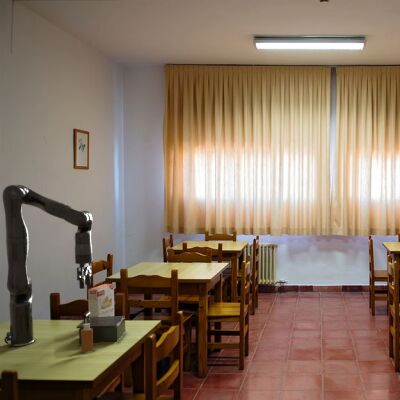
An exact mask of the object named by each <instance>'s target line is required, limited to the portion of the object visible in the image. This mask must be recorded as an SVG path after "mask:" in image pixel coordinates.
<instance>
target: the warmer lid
mask: <svg viewBox="0 0 400 400" xmlns="http://www.w3.org/2000/svg"><path fill="white" fill-rule="evenodd" d="M89 315H90V312H89V310H87V311H86V312H85V313H84V314H83V315H82V319H83V320H82V321H81V322H80V323H79V324H77V326H76V329H80V328H84V324H87V323H89V324H90V328H98V327H117V326H118V325H119V324H120V322H121V321H122V320H123V319H124V318H125V315H116V316H115V315H114V316H110V317H89ZM125 319H126V318H125Z"/></svg>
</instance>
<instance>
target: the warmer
mask: <svg viewBox="0 0 400 400" xmlns="http://www.w3.org/2000/svg"><path fill="white" fill-rule="evenodd" d="M82 329H84V328H78V340H79V342H78V343H79V345H82V339H81V330H82ZM92 330H93V344H102V343H118V342H119V341H120V339H121V338H122V337H123V336H124V334H125V332H126V318H124V319H123V320H122V321H121V322H120V324H119V325H118V326H117V327H98V328H92Z"/></svg>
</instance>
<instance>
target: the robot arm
mask: <svg viewBox="0 0 400 400" xmlns="http://www.w3.org/2000/svg"><path fill="white" fill-rule="evenodd" d="M2 191H3V192H2V203H3V211H4V222H5V225H4V226H5V248H6V249H5V250H6V258H7V278H6V289H7V291H8V292H9V301H8V311H9V331H7V332H6V335H5V337H4V339H3V340H4V343H5V344H6V345H9V343H10V347H11V348H12V347H24V346H27V345H30V344H33V343H34V342H35V337H34V321H33V320H34V319H33V283H32V277H30V275H29V274H28V270H27V261H28V255H29V249H30V235H29V228H28V226H27V224H26V222H25V220H24V217H23V208H22V207H23V205H26V206H31V207H34V208H37V209H39V210H42V212H44V213H46V214H48V215H50V216H52V217H54V218H57V219H60V220H63V221H65V222H67V223H69V224H71V225H73V226H75V227H77V230H76V231H75V233H74V262H75V263H74V264H76V265H79V266H77V267H76V280H77V281H78V282H79V284H78V285H79V289H80V290H83V289H84V290H85V288H86V286H90V285H91V276H92V275H93V271H92V263H93V261H94V260H93V259H94V258H93V246H92V245H93V244H92V229H93V216H92V213H91V212H89V210H77V209H74V208H73V207H72V206H70V205H68V204H65V203H63V202H60V201H58V200H55V199H52V198H49V197H47V196H44V195H42V194H40V193H38V192H36V191H35V190H32V189H31V188H29V187H27V186H25V185H23V184H10V185H7V186H5V187H4V189H3V190H2Z"/></svg>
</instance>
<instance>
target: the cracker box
mask: <svg viewBox="0 0 400 400" xmlns="http://www.w3.org/2000/svg"><path fill="white" fill-rule="evenodd" d="M87 297H88V298H87V299H88V311H89V312H90V315H89V317H110V316H115V286H114V284H112V283H104V284H101V285H98V286H94V287H92V288H88V289H87Z"/></svg>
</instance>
